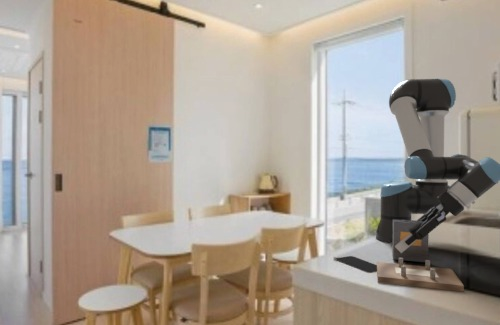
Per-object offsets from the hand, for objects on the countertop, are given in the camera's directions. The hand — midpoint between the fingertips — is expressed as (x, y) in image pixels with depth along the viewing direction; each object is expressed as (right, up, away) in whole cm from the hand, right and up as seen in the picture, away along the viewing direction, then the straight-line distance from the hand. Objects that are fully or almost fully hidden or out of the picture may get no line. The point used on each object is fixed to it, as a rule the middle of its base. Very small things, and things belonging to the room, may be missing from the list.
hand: (397, 247), depth 115 cm
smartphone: (-14, -5, -5) cm, 16 cm away
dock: (-2, -4, -17) cm, 18 cm away
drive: (+4, -3, -1) cm, 5 cm away
